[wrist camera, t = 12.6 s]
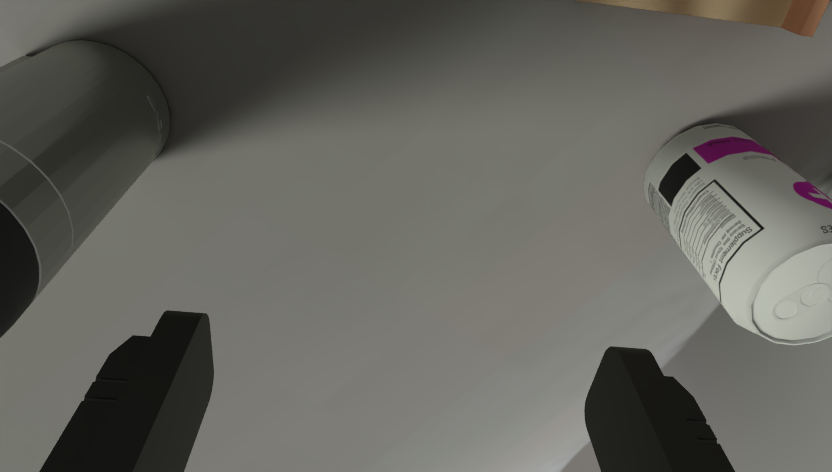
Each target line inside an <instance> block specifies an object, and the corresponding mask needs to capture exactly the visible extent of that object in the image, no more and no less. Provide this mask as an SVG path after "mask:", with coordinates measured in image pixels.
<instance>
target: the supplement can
mask: <svg viewBox="0 0 832 472" xmlns="http://www.w3.org/2000/svg"><path fill="white" fill-rule="evenodd" d="M644 190H645V197H646V201H647V202H648V204H649V205H650V207H651V208H652V210H653V211H654V213H655V214H656V215H657V217H658V218H659V219H660V221H661V222H662V223H663V225H664V226H665V228H666V229H667V230H668V232H669V233H670V234H671V236H672V237H673V238H674V240H675V241H676V243H677V244H678V245H679V247H680V248H681V249H682V251H683V252H684V253H685V255H686V256H687V258H688V259H689V260H690V262H691V263H692V264H693V266H694V267H695V268H696V270H697V271H698V273H699V274H700V275H701V277H702V278H703V279H704V281H705V282H706V283H707V285H708V286H709V288H710V289H711V290H712V292H713V293H714V294H715V296H716V297H717V298H718V300H719V301H720V303H721V304H722V305H723V307H724V308H725V309H726V311H727V312H728V313H729V315H730V316H731V318H732V319H733V320H734V322H735V323H736V324H738V325H740V326H742V327H744V328H746V329H747V330H750V331H751V332H753V333H756V334H759V335H760V336H762V337H764V338H766V339H768V340H769V341H771V342H773V343H779V344H787V345H799V344H807V343H815V342H818V341H821V340H824V339H826V338H829V337H832V200H831V199H830V198H829V197H828V196H826V195H825V194H824V193H822V192H821V191H820V190H818V189H817V188H816V187H815V186H813V185H812V184H811V183H809V182H808V181H807V180H805V179H804V178H803V177H802V176H800V175H799V174H798V173H796V172H795V171H794V170H793V169H791V168H790V167H789V166H787V165H786V164H785V163H783V162H782V161H781V160H780V159H778V158H777V157H776V156H774V155H773V154H772V153H770V152H769V151H768V150H767V149H765V148H764V147H763V146H761V145H760V144H759V143H758V142H756V141H755V140H754V139H752V138H751V137H750V136H748V135H747V134H745V133H744V132H742V131H741V130H739V129H738V128H736V127H735V126H729V125H724V124H718V123H714V124H708V125H701V126H695V127H693V128H691V129H689V130H687V131H685V132H683V133H681V134H679V135H676V136H675V137H674V138H673V139H671V140H670V141H669V142H668V143H667V144H666V145H664V146H663V147H662V148H661V149H660V150H659V151H658V152H657V154H656V156H655V157H654V159H653V160H652V162H651V163H650V165H649V166H648V169H647V173H646V177H645V181H644Z"/></svg>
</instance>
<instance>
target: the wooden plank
mask: <svg viewBox="0 0 832 472" xmlns="http://www.w3.org/2000/svg"><path fill="white" fill-rule="evenodd" d="M577 1H584V2H592V3H599V4H607V5H615V6H622V7H630V8H637V9H645V10H653V11H660V12H668V13H676V14H683V15H691V16H698V17H706V18H714V19H721V20H729V21H736V22H744V23H752V24H759V25H767V26H774V27H781V28H784V29H786V30H788V31H791V32H793V33H796V34H798V35H802V36H809V37H812V36H813V34H814V32H815V30H816V28H817V26H818V24H819V22H820V20H821V18H822V16H823V14H824V12H825V9H826V7H827V5H828V3H829V1H830V0H577Z"/></svg>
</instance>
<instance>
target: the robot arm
mask: <svg viewBox="0 0 832 472" xmlns="http://www.w3.org/2000/svg"><path fill="white" fill-rule="evenodd" d="M169 131H170V114H169V109H168V105H167V102H166V99H165V97H164V95H163V93H162V90H161V88H160V87H159V86H158V84H157V83H156V81H155V80H154V78H153V77H152V76H151V74H150V73H149V72H148V71H147V70H146V69H145V68H144V67H143V66H142V65H141V64H140V63H138V62H137V61H136V60H134V59H133V58H131V57H130V56H129V55H127V54H126V53H124V52H122V51H120V50H118V49H116V48H114V47H112V46H109V45H105V44H102V43H99V42H95V41H85V40H76V41H66V42H63V43H61V44H58V45H55V46H52V47H51V48H49V49H47V50H45V51H43V52H41V53H39V54H37V55H35V56H33V57H29V56H22V57H20V58H18V59H16V60H14V61H12V62H10V63H8V64H6V65H4V66H2V67H0V338H1V337H2V336H3V335H4V334H5V333H6V332H7V331H8V330H9V329H10V328H11V326H12V325H13V324H14V323H15V322H16V321H17V320H18V318H19V317H20V316H21V315H22V314H23V312H24V311H25V310H26V309H27V308H28V307H29V305H30V304H31V303H32V302H33V301H34V299H35V298H36V297H37V296H38V295H39V294H40V292H41V291H42V290H43V289H44V288H45V287H46V285H47V284H48V283H49V282H50V281H51V280H52V278H53V277H54V276H55V275H56V274H57V272H58V271H59V270H60V269H61V267H62V266H63V265H64V264H65V263H66V262H67V260H68V259H69V258H70V257H71V256H72V255H73V253H74V252H75V251H76V250H77V249H78V248H79V246H80V245H81V244H82V243H83V242H84V241H85V239H86V238H87V237H88V236H89V235H90V234H91V232H92V231H93V230H94V229H95V228H96V226H97V225H98V224H99V223H100V222H101V221H102V219H103V218H104V217H105V216H106V215H107V214H108V212H109V211H110V210H111V209H112V208H113V207H114V205H115V204H116V203H117V202H118V201H119V200H120V198H121V197H122V196H123V195H124V194H125V193H126V191H127V190H128V189H129V188H130V187H131V185H132V184H133V183H134V182H135V181H136V180H137V179H138V177H139V176H140V175H141V174H142V173H143V172H144V170H145V169H146V168H147V167H148V166H149V165H150V163H151V162H152V161H153V160H154V159H155V157H156V156H157V155H158V154H159V153H160V152H161V150H162V149H163V147H164V145H165V143H166V141H167V139H168V135H169ZM213 378H214V367H213V356H212V345H211V333H210V322H209V317H208V315H207V314H206V313H193V312H181V311H165V312H164V313H163V315H162V316H161V318H160V320H159V322H158V324H157V325H156V327H155V329H154V331H153V333H152V335H151V337H147V336H134V335H133V336H132V337H130V338H129V339H128V340H127V341H126V342H124V343H123V344H122V345H121V346H119V347H118V348H117V349H116V350H114V351H113V352H112V353H111V354H110V355H109V356H108V358H107V360H106V361H105V363H104V365H103V366H102V368H101V370H100V371H99V373H98V375H97V376H96V381H95V382H93V383H92V385H91V386H90V388H89V390H88V391H87V393H86V395H85V399H84V401H81V403H80V405H79V406H78V408H77V410H76V411H75V413H74V415H73V416H72V418H71V420H70V421H69V423H68V425H67V426H66V428H65V430H64V431H63V433H62V435H61V436H60V438H59V440H58V441H57V443H56V445H55V446H54V448H53V450H52V451H51V453H50V455H49V456H48V458H47V460H46V461H45V463H44V465H43V466H42V468H41V470H40V471H39V472H184V470H185V467H186V464H187V461H188V459H189V456H190V453H191V450H192V447H193V445H194V442H195V439H196V436H197V434H198V431H199V428H200V425H201V422H202V420H203V417H204V414H205V411H206V409H207V406H208V403H209V400H210V396H211V392H212V386H213ZM585 422H586V427H587V430H588V433H589V436H590V439H591V442H592V445H593V448H594V451H595V454H596V457H597V460H598V463H599V466H600V469H601V472H735V471H734V469H733V467H732V466H731V464H730V462H729V460H728V458H727V456H726V455H725V453H724V451H723V449H722V447H721V446H720V444H717V438H716V437H715V435H714V433H713V431H712V430H711V428H710V426H709V425H707V424H706V419H705V417H704V415H703V413H702V411H701V410H700V408H699V406H698V404H697V403H696V401H695V399H694V397H693V396H692V395H691V394H690V393H689V392H688V391H687V390H686V389H685V388H684V387H683V386H682V385H681V384H680V383H679V382H678V381H677V380H676V379H674V377H668V376H664V375H663V373H662V372H661V370H660V368H659V366H658V364H657V362H656V360H655V358H654V356H653V355H652V353H651V352H650V351H649V350H647V349H637V348H625V347H609V348H608V349H607V350H606V351H605V353H604V356H603V358H602V360H601V363H600V365H599V368H598V370H597V373H596V375H595V378H594V380H593V382H592V385H591V387H590V390H589V392H588V395H587V398H586V402H585Z"/></svg>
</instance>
